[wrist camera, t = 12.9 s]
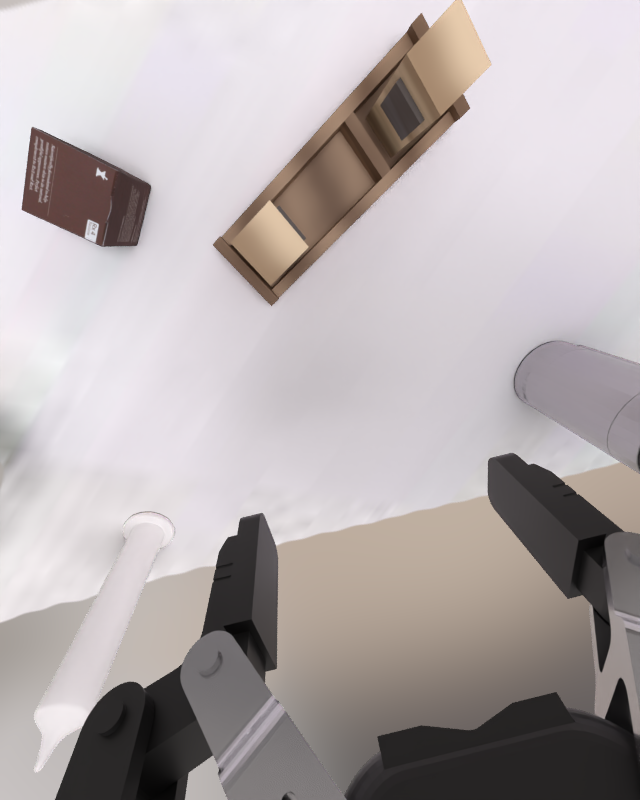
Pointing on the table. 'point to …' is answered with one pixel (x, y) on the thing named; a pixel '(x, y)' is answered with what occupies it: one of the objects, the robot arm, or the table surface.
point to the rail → (326, 184)
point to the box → (83, 192)
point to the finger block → (429, 79)
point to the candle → (100, 634)
